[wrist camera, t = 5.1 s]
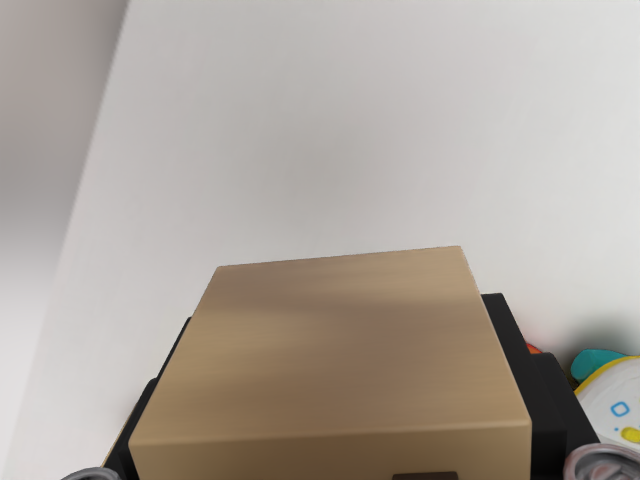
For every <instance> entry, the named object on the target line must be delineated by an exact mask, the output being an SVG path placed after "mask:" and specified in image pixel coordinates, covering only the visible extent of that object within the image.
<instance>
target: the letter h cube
mask: <svg viewBox="0 0 640 480" xmlns="http://www.w3.org/2000/svg"><path fill="white" fill-rule="evenodd" d="M531 440H532V421H531V418H530V416H529V413H528V411H527V408H526V406H525V403H524V401H523V398H522V396H521V394H520V391H519V389H518V386H517V384H516V381H515V379H514V376H513V374H512V371H511V369H510V366H509V364H508V361H507V359H506V357H505V354H504V352H503V349H502V347H501V344H500V342H499V339H498V337H497V334H496V332H495V329H494V327H493V324H492V322H491V320H490V317H489V315H488V312H487V310H486V307H485V305H484V302H483V300H482V297H481V295H480V292H479V290H478V287H477V285H476V283H475V280H474V278H473V275H472V273H471V270H470V268H469V265H468V263H467V260H466V258H465V255H464V253H463V250H462V248H461V247H460V246H448V247H436V248H425V249H413V250H402V251H390V252H379V253H367V254H356V255H344V256H332V257H321V258H309V259H298V260H286V261H275V262H263V263H252V264H240V265H228V266H219V267H217V269H216V271H215V272H214V274H213V276H212V278H211V280H210V282H209V284H208V286H207V288H206V290H205V292H204V294H203V296H202V298H201V300H200V302H199V304H198V306H197V308H196V310H195V312H194V314H193V316H192V318H191V319H190V321H189V323H188V325H187V327H186V329H185V331H184V333H183V335H182V337H181V339H180V341H179V343H178V345H177V347H176V349H175V351H174V353H173V355H172V357H171V359H170V361H169V363H168V365H167V366H166V368H165V370H164V372H163V374H162V376H161V378H160V380H159V382H158V384H157V386H156V388H155V390H154V392H153V394H152V396H151V398H150V400H149V402H148V404H147V406H146V408H145V410H144V411H143V413H142V415H141V417H140V419H139V421H138V423H137V425H136V427H135V429H134V431H133V433H132V435H131V437H130V439H129V443H128V444H129V449H130V452H131V455H132V458H133V461H134V464H135V467H136V470H137V472H138V475H139V478H140V480H530V468H531Z"/></svg>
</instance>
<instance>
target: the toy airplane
mask: <svg viewBox="0 0 640 480" xmlns="http://www.w3.org/2000/svg"><path fill="white" fill-rule="evenodd" d="M526 344H527V343H526ZM527 347H528V349H529V351H530V353H531V354H533V353H542V352H541V351H539V350H538V349H536V348H535V347H533V346H531V345H530V344H527ZM570 371H571V375H572V377H573V379H574V380H575V381H576V382H577V383H578V384H579V385H580V386H579V387H578V388H577V389H576V390H575V391H574V393H575V395H576V397H577V399H578V401H579V403H580V404H581V406H582V408H583V410H584V412H585V414H586V416H587V417H588V419H589V421H590V423H591V425H592V427H593V429H594V430H595V432H596V434H597V436H598V438H599V440H600V442H601V443H605V444H614V445H618V446H622V447H626V448H629V449H631V450H633V451H635V452H638V453H640V356H627V355H624V354H621V353H617V352H614V351H609V350H599V349H585V350H583V351H581V352H580V353H579V354H578V355H577V357H576V358H575V359H574V361H573V363H572V366H571V370H570Z"/></svg>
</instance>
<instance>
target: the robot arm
mask: <svg viewBox="0 0 640 480" xmlns="http://www.w3.org/2000/svg"><path fill="white" fill-rule="evenodd" d="M481 297H482V300H483V302H484V305H485V307H486V310H487V312H488V315H489V317H490V320H491V322H492V324H493V327H494V329H495V332H496V334H497V337H498V339H499V342H500V344H501V347H502V349H503V352H504V354H505V357H506V359H507V361H508V364H509V366H510V369H511V371H512V374H513V376H514V379H515V381H516V384H517V386H518V389H519V391H520V394H521V396H522V398H523V401H524V403H525V406H526V408H527V411H528V413H529V416H530V418H531V421H532V440H531V468H530V480H640V453H638V452H635V451H633V450H631V449H629V448H626V447H622V446H618V445H614V444H605V443H601V442H600V440H599V438H598V436H597V434H596V432H595V430H594V429H593V427H592V425H591V423H590V421H589V419H588V417H587V416H586V414H585V412H584V410H583V408H582V406H581V404H580V403H579V401H578V399H577V397H576V395H575V393H574V391H573V390H572V388H571V386H570V384H569V382H568V380H567V378H566V377H565V375H564V373H563V371H562V369H561V367H560V365H559V364H558V362H557V360H556V358H555V357H554V355H553V354H552V353H550V352H549V353H533V354H531V353H530V351H529V349H528V347H527V344H526V342H525V340H524V338H523V336H522V334H521V332H520V330H519V328H518V326H517V324H516V321H515V319H514V317H513V315H512V313H511V311H510V309H509V307H508V305H507V303H506V300H505V298H504V296H503V295H502V293H494V294H481ZM191 318H192V317H189V318H188V319H187V320H186V322H185V324H184V326H183V328H182V330H181V332H180V334H179V336H178V338H177V340H176V341H175V343H174V345H173V347H172V349H171V351H170V353H169V355H168V357H167V359H166V361H165V363H164V365H163V366H162V368H161V370H160V372H159V374H158V376H157V378H154V379H152V380H150V381H149V383H148V384H147V386H146V387H145V389H144V391H143V393H142V395H141V397H140V399H139V401H138V402H137V404H136V406H135V408H134V410H133V412H132V414H131V415H130V417H129V419H128V421H127V423H126V425H125V427H124V429H123V430H122V432H121V434H120V436H119V438H118V440H117V442H116V443H115V445H114V447H113V449H112V451H111V453H110V455H109V456H108V458H107V460H106V462H105V464H104V466H103V467H93V468H86V469H83V470H80V471H77V472H74V473H72V474H70V475H68V476H66V477H64V478H63V479H61V480H140V478H139V475H138V472H137V470H136V467H135V464H134V461H133V458H132V455H131V452H130V449H129V444H128V443H129V439H130V437H131V435H132V433H133V431H134V429H135V427H136V425H137V423H138V421H139V419H140V417H141V415H142V413H143V411H144V410H145V408H146V406H147V404H148V402H149V400H150V398H151V396H152V394H153V392H154V390H155V388H156V386H157V384H158V382H159V380H160V378H161V376H162V374H163V372H164V370H165V368H166V366H167V365H168V363H169V361H170V359H171V357H172V355H173V353H174V351H175V349H176V347H177V345H178V343H179V341H180V339H181V337H182V335H183V333H184V331H185V329H186V327H187V325H188V323H189V321H190V319H191Z"/></svg>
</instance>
